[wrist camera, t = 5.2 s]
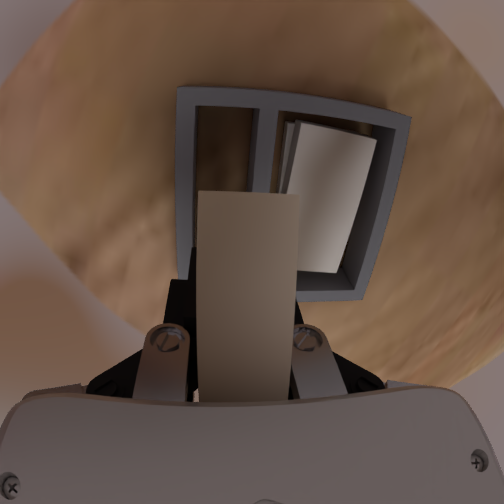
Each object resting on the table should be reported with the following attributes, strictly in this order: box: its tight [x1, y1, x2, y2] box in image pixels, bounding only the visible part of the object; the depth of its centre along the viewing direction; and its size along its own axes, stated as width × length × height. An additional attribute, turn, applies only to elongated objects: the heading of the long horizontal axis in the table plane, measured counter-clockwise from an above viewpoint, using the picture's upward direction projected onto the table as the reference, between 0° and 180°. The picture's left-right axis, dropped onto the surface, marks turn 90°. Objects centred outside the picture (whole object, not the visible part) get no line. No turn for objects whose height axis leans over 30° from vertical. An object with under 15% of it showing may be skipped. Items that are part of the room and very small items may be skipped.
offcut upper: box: [281, 119, 377, 273], centre depth 21 cm, size 5×10×2 cm, turn 171°
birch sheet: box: [196, 191, 300, 402], centre depth 12 cm, size 2×7×12 cm, turn 175°
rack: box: [175, 86, 412, 302], centre depth 20 cm, size 14×14×3 cm
